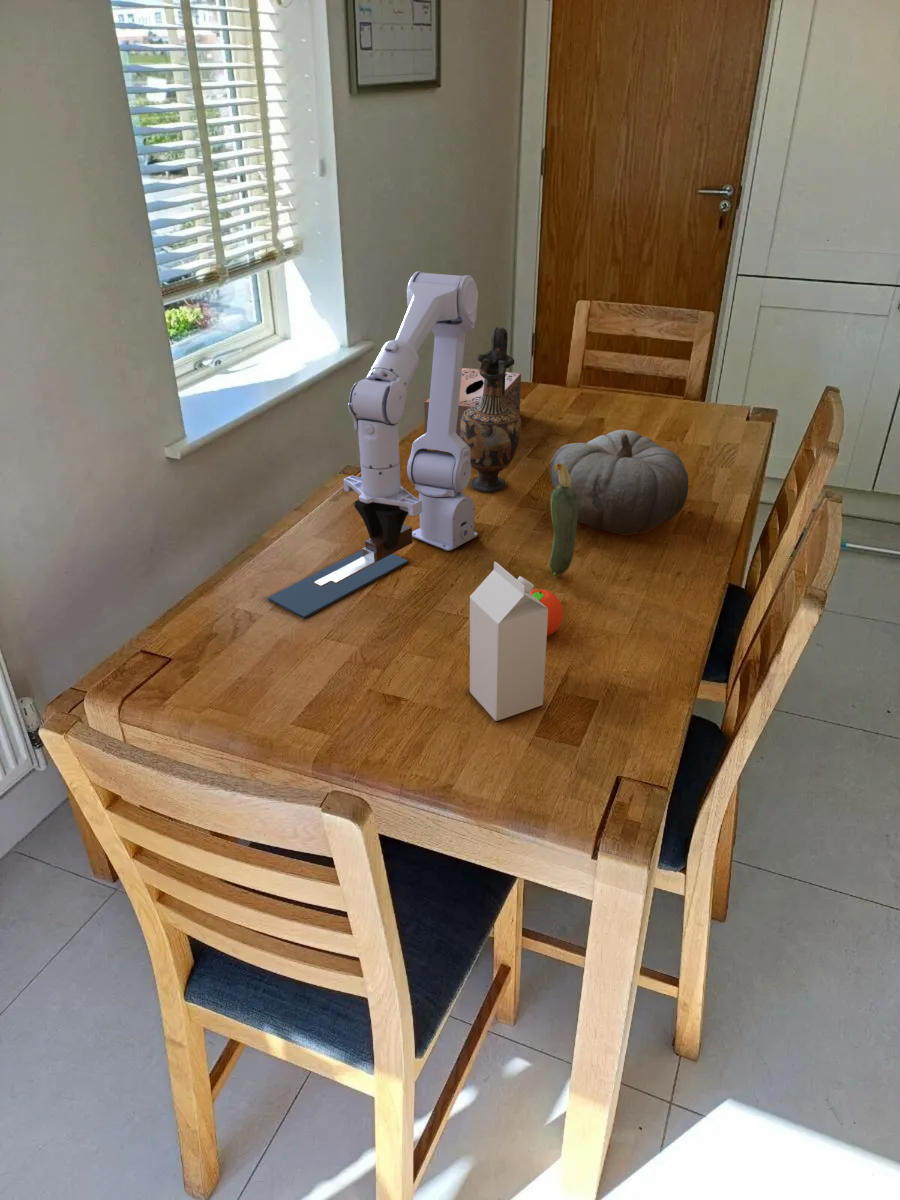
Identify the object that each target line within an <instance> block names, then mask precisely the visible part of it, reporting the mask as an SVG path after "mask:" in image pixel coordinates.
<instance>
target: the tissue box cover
mask: <svg viewBox="0 0 900 1200" xmlns="http://www.w3.org/2000/svg"><path fill="white" fill-rule="evenodd" d="M479 370H480V368H479V369H478V368H468V367H467V368H466V367H462V375H461V385H460V396H459V406H458V417H457V427H456V434H457V435H458V436H459V437H460V438H461V433H460V426H461V418H462V415H463V413H464V412H465V411H466V410H467V409H468V408H470V407H473V406H476V405H479V404H480V402H481V400H482V396H483V390H484V379H485V378H483V377H482V376H481V375H480V373H479ZM521 381H522V373H521V372H510V371H506V374H505V400H506V405H507V407H510V408H512V409H513V410H515V411H516V412H517V413H518V414H519V415H520V416H521V414H520V413H521V392H522V391H521V387H522V382H521ZM429 400H430V396H429V397H427V398H426V399H425V401H424V402H423V404H424V406H423V407H424V434H425V433H427V423H428V412H429Z"/></svg>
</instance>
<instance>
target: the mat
mask: <svg viewBox="0 0 900 1200" xmlns="http://www.w3.org/2000/svg"><path fill="white" fill-rule="evenodd" d="M361 557H363V549H361V550H359V551H356V552H355V553H353V554H351V555H349V556H347V557H345V558H343V559H342V560H341V559H340V561H337V562H335V563H333V564H331V565H329V566H327V567H325V568H323V569H321V570H319V571H317V572H314V573H313V574H311V575H310V576H307V577H305V578H303V579H301V580H299V581H297V582H296V583H293V584H291V585H289V586H288V587H286V588H284V589H281V590H279V591H278V592H275V593H273V594H271V595H270V596H268V597H267V600H268V601H270V602H272V603H274V604H276V605H278V606H279V607H281V608H283V609H285V610H287V611H289V612H291V613H293V614H295V615H296V616H299V617H301V618H303V619H306V618H308V617H310V616H313V615H314V614H316V613H317V612H319V611H321V610H324V609H325V608H327V607H328V606H331V605H332V604H334V603H336V602H338V601H340V600H341V599H343V598H345V597H347V596H349V595H351V594H352V593H354V592H356V591H358V590H360V589H362V588H364V587H366V586H367V585H369V584H371V583H373V582H374V581H376V580H378V579H380V578H382V577H384V576H386V575H388V574H389V573H391V572H394V571H395V570H397V569H399V568H401V567H403V566H404V565H407V564H408V563H409V560H408V559H406V558H403V557H402V556H399V555H397V554H394V553H393V554H391V555H389V556H387V557H385V558H383V559H381V560H379V561H378V562H376V563H375V564H373V565H371V566H369V567H367V568H366V569H364V570H362V571H360V572H358V573H356V574H354V575H352V576H351V577H349V578H347V579H345V580H343V581H341V582H339V583H337V584H335V583H333V582H330V583H329V584H327V585H325V586H323V587H320V586H318V585H316V584H314V582H315V581H317V580H319V579H321V578H323V577H325V576H327V575H329V574H331V573H333V572H334V571H336V570H338V569H340V568H342V567H344V566H346V565H348V564H350V563H352V562H354V561H356V560H357V559H359V558H361Z"/></svg>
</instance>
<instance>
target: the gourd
mask: <svg viewBox="0 0 900 1200" xmlns="http://www.w3.org/2000/svg"><path fill="white" fill-rule="evenodd" d="M558 463H562V464H563V465H565V466H567V467H566V468H567V469H568V473H569V475H570V477H571V487H573V488H574V489H575V491H576V493H577V496H578V519H577V522H579V523H583V524H584V525H586V526H589V527H591V528H593V529H596V530H604V531H606V532H607V533H608V532H609V533H615V534H617V535H622V536H630V535H634V534H643V533H647V532H649V531H651V530H653V529H655V528H657V527H658V526H661V525H664V524H666V523H668V522H669V521H671V520H672V519H673V518H675V517H676V516H677V515H678V514H679V513H680V512H681V511H682V510H683V508H684V506H685V504H686V502H687V499H688V494H689V474H688V471H687V469H686V467H685V464H684V462H683V461H682V459H681V457H680V456H679V455H678V454H677V453H675V452H674V451H672V450H671V449H668V448H666V447H663V446H661V445H660V444H658V443H657V442H655V441H654V440H653V439H652V438H650V437H648V436H643V435H641V434H640V433H638V431H634V430H627V429H616V430H614V431H610V432H608V433H606V434H602V435H599V436H596V437H595V438H593V439H591V440H589V441H587V442H586V443H585V442H572V443H567V444H564V445H562V446H561V447H559V448H558V449H557V450H556V451H555V453H554V454H553V456H552V458H551V462H550V465H549V467H550V468H549V476H550V481H551V484H552V488H553V490H554V489H555V488H556V487H558V486H560V485H559V484H560V482H559V479H558V472H559V469H558V471H557V472H556V473H555V470H554V467H555V465H556V464H558Z"/></svg>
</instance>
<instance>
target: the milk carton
mask: <svg viewBox="0 0 900 1200" xmlns="http://www.w3.org/2000/svg"><path fill="white" fill-rule="evenodd" d="M534 588H535V585H534V584H533V583H532V582H530V580H528V579H526V578H525V577H523V576H520V575H519V576H518V577H517V578H516V577H515V576H514V575H512V574H511V573H510V572H509V571H508V570H506V568H504V567H502V565H500V564H499V563H498V562H497V561H493V570H492V571H491V572H490V573H489V574H488V575H487V576H486V577H485V579H484V580H483V581H482V582H480V584H479V585H478V586H477V588H476V589H475V590H474V591H473V592H472V593H471V594H470V596H469V693H470V694H471V695H472V697H473V698H474V699H475V700H476V701H477V702H478V703H479V705H480V706H481V707H482V708H483V709H484V710H485V711H486V713H488V714H489V716H490V717H491V718H492V719H493V720H494V721H495V722H497V721H498V722H499V721H501V720H504V719H507V718H510V717H512V716H513V717H514V716H515V715H518V714H521V713H524V712H527V711H530V710H533V709H536V708H539V707H541V706H543V705H544V694H545V693H544V691H545V674H546V656H547V638H548V636H547V621H548V608H547V607H546V606H544V605H543V604H542V603H541V602H540V601H539V600H537V599H536V598H535V597H534V596H533V595H531V594H530V592H531V591H532V590H534Z"/></svg>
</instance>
